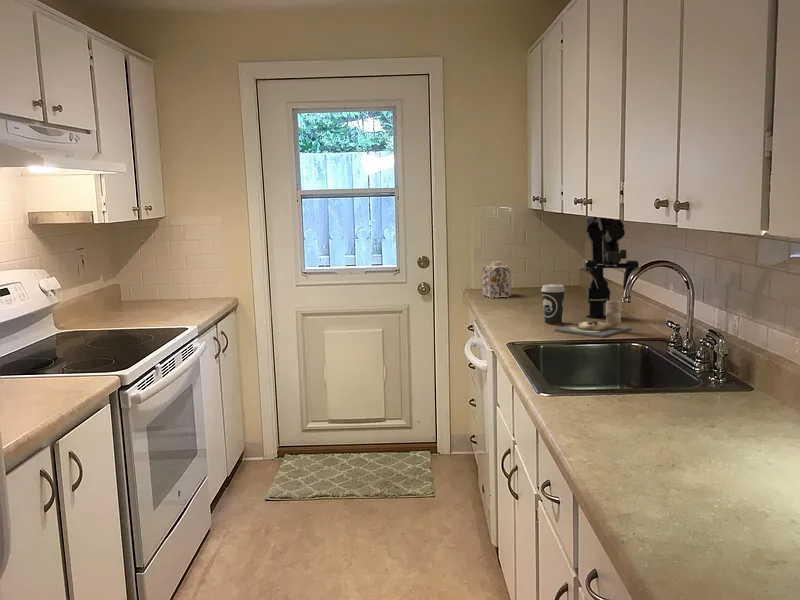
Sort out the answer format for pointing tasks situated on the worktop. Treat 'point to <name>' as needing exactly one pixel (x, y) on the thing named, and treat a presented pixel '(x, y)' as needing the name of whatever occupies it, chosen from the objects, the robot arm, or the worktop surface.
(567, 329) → the board
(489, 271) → the decorative jar
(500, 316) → the worktop surface
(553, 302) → the coffee cup
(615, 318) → the beige boot
